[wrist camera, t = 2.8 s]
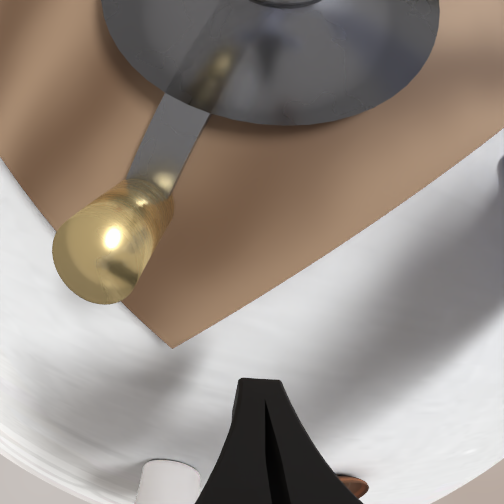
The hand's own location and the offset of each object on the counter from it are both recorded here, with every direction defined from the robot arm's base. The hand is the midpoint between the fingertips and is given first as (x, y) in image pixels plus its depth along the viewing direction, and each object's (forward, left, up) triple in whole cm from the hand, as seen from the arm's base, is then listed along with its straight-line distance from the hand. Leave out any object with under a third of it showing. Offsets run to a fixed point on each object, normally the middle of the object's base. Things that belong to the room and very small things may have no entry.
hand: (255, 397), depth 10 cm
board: (+11, -9, -5) cm, 15 cm away
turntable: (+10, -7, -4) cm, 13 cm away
